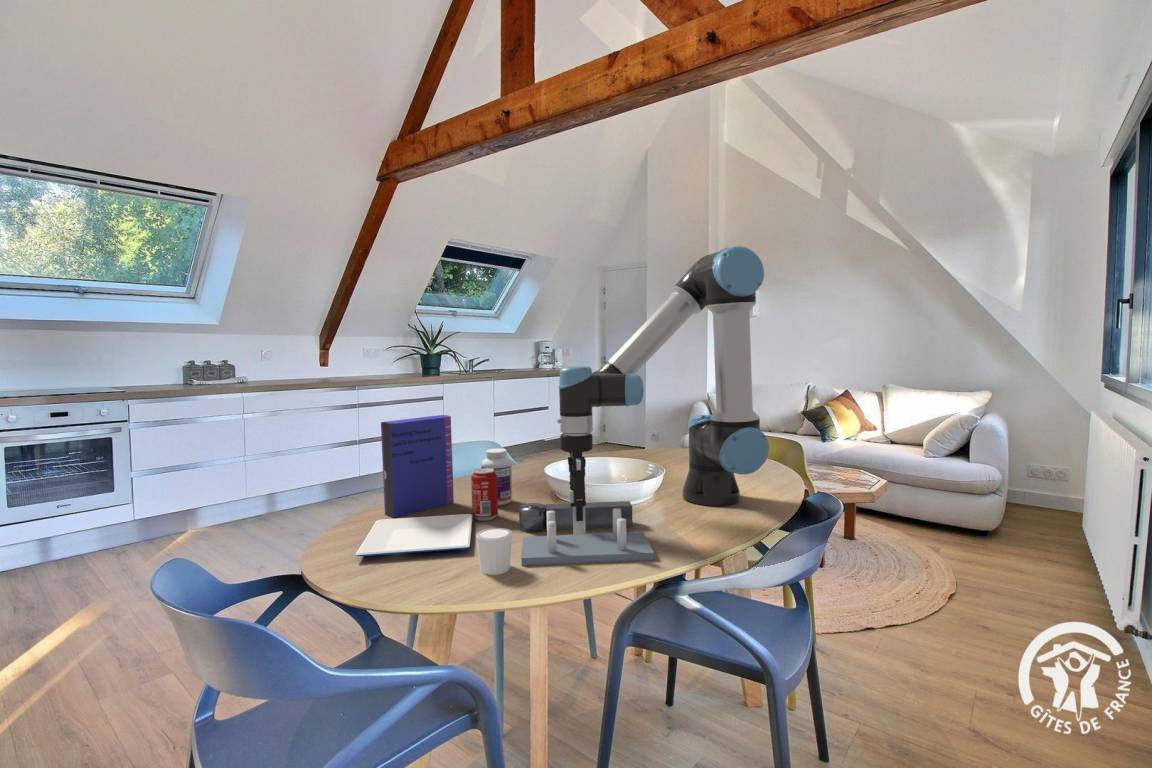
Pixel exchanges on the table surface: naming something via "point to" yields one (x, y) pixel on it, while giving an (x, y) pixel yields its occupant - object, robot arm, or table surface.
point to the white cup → (494, 550)
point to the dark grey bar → (595, 515)
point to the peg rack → (586, 545)
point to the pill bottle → (500, 473)
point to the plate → (417, 535)
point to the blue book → (417, 464)
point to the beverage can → (484, 494)
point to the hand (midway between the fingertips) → (577, 525)
